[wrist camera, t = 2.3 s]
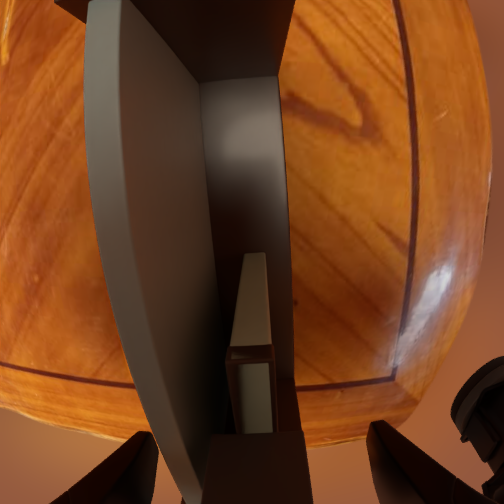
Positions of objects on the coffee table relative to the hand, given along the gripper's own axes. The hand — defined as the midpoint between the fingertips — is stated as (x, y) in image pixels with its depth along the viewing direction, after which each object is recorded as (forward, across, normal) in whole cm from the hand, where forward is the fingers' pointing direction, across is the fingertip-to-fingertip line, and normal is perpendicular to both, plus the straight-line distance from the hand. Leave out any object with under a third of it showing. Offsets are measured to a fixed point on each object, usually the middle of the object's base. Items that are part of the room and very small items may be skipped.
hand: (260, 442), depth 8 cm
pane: (+8, 0, 0) cm, 8 cm away
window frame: (+10, +1, -4) cm, 10 cm away
